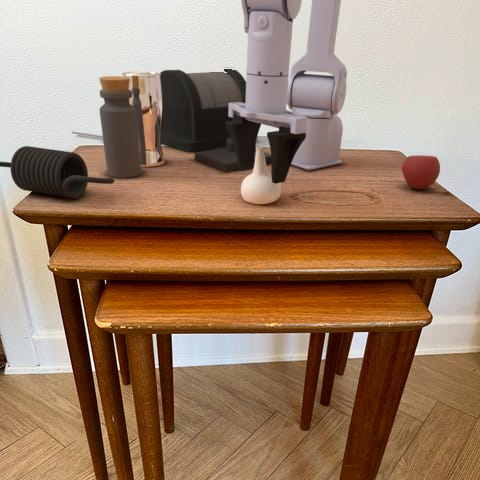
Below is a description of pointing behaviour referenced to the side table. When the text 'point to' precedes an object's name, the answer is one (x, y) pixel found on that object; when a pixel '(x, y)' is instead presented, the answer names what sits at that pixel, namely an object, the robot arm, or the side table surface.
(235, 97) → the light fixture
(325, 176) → the side table surface
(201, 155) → the scale
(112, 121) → the bottle
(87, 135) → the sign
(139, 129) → the beer glass
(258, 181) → the garlic bulb
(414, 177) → the fruit
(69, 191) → the coil
